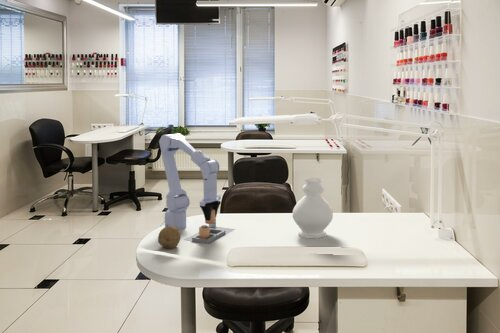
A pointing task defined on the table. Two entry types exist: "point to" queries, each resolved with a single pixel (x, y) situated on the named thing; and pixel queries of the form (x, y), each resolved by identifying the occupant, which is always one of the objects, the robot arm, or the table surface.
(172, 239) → the natural sponge
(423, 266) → the table surface
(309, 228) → the decorative vase
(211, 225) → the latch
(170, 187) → the robot arm
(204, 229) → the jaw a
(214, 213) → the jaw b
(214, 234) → the housing
